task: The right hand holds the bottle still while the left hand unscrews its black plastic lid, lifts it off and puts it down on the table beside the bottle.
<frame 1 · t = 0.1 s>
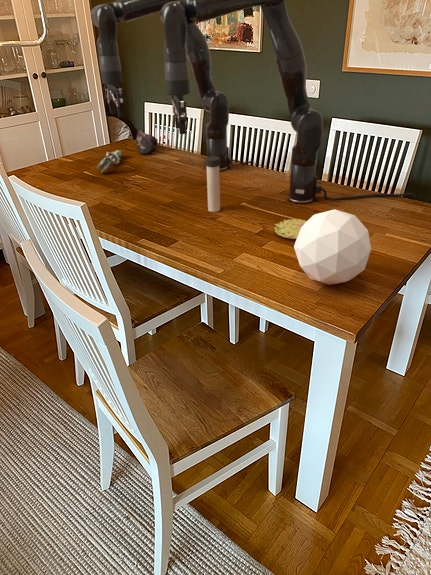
left hand: (117, 115, 171), 29 cm above the table, tool pointing down, fingers open, 8 cm apart
right hand: (180, 130, 147), 29 cm above the table, tool pointing down, fingers open, 8 cm apart
lid: (212, 159, 155), point 19 cm above the table, screwed on, not yet turned
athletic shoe: (149, 150, 236), on the table
decorative object: (301, 233, 146), on the table
sphere: (328, 278, 122), on the table
bottle: (214, 209, 165), on the table
figurine: (111, 165, 215), on the table
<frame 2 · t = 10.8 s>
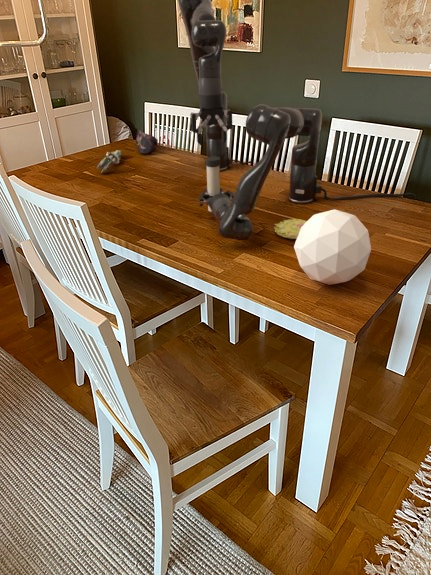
left hand: (212, 143, 152), 24 cm above the table, tool pointing down, fingers open, 7 cm apart
right hand: (212, 191, 164), 6 cm above the table, tool horizontal, fingers closed on bottle, 4 cm apart
bottle: (214, 209, 165), on the table, touching right hand
everything else where it was.
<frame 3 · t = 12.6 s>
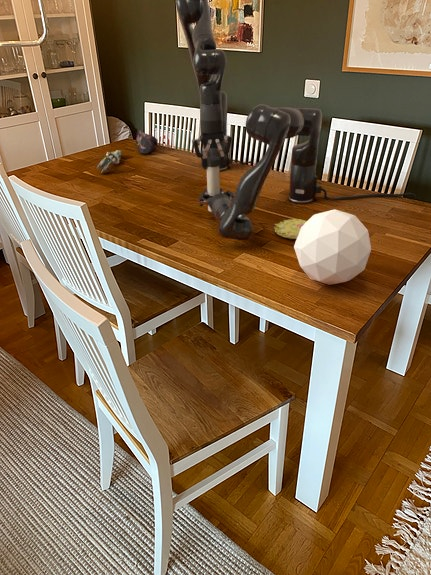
left hand: (212, 167, 156), 16 cm above the table, tool pointing down, fingers closed on lid, 5 cm apart
right hand: (212, 191, 164), 6 cm above the table, tool horizontal, fingers closed on bottle, 4 cm apart
lid: (212, 159, 155), point 19 cm above the table, screwed on, not yet turned, touching left hand
bottle: (214, 209, 165), on the table, touching right hand
everything else where it was.
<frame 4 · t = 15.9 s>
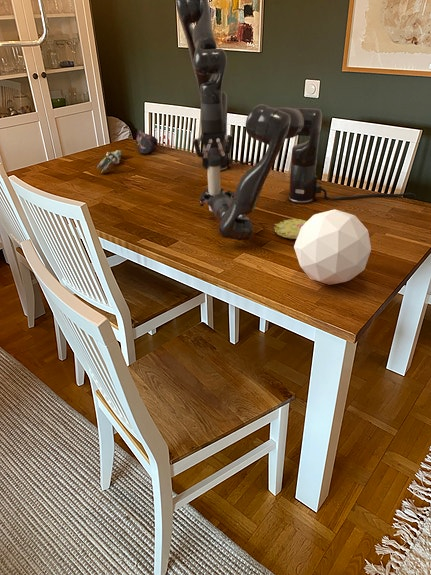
left hand: (213, 166, 156), 16 cm above the table, tool pointing down, fingers closed on lid, 5 cm apart
right hand: (213, 191, 164), 6 cm above the table, tool horizontal, fingers closed on bottle, 4 cm apart
lid: (213, 158, 155), point 19 cm above the table, turned 74° so far, risen 0.1 cm, still on its thread, touching left hand
bottle: (215, 209, 165), on the table, touching right hand
everything else where it was.
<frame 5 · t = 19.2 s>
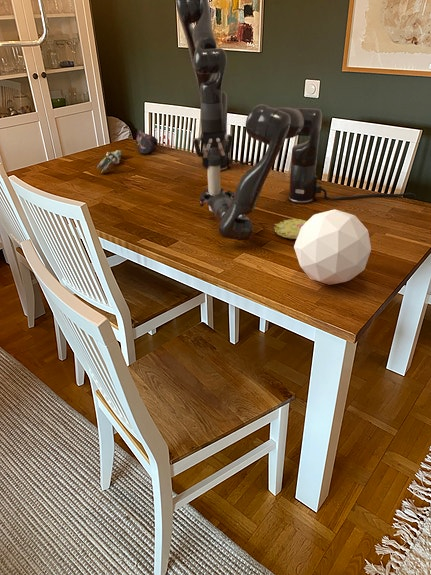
left hand: (213, 166, 156), 16 cm above the table, tool pointing down, fingers closed on lid, 5 cm apart
right hand: (213, 191, 164), 6 cm above the table, tool horizontal, fingers closed on bottle, 4 cm apart
lid: (213, 158, 155), point 19 cm above the table, turned 148° so far, risen 0.3 cm, still on its thread, touching left hand
bottle: (215, 209, 165), on the table, touching right hand
everything else where it was.
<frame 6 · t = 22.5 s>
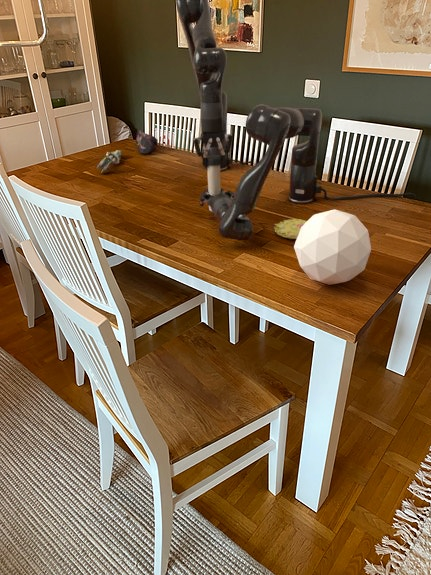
left hand: (213, 166, 156), 16 cm above the table, tool pointing down, fingers closed on lid, 5 cm apart
right hand: (213, 191, 164), 6 cm above the table, tool horizontal, fingers closed on bottle, 4 cm apart
lid: (213, 158, 155), point 19 cm above the table, turned 222° so far, risen 0.4 cm, still on its thread, touching left hand
bottle: (215, 209, 165), on the table, touching right hand
everything else where it was.
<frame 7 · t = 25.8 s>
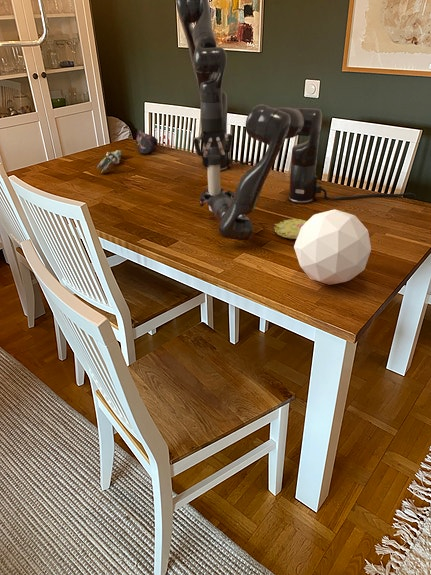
left hand: (213, 165, 156), 17 cm above the table, tool pointing down, fingers closed on lid, 5 cm apart
right hand: (213, 191, 164), 6 cm above the table, tool horizontal, fingers closed on bottle, 4 cm apart
lid: (213, 157, 155), point 19 cm above the table, turned 296° so far, risen 0.5 cm, still on its thread, touching left hand
bottle: (215, 209, 165), on the table, touching right hand
everything else where it was.
when the left hand's fingers open (0 cm above the table, at t = 32.3 s): lid drops 1 cm, point 2 cm above the table.
when the right hand's fingers open (6 cm above the table, at t = 33.4 s): bottle stays where it is, on the table.
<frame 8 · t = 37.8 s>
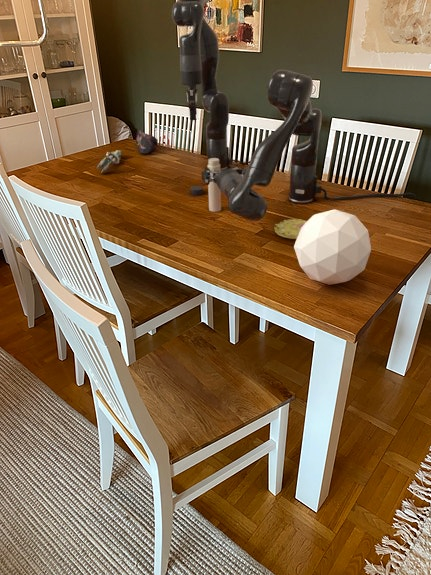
left hand: (193, 117, 164), 29 cm above the table, tool pointing down, fingers open, 8 cm apart
right hand: (219, 169, 146), 19 cm above the table, tool horizontal, fingers open, 8 cm apart
lid: (196, 188, 179), point 2 cm above the table, off its thread
bottle: (215, 209, 165), on the table
everything else where it was.
at the end: lid came off its thread; lid point 1.9 cm above the table; the left hand is holding nothing; the right hand is holding nothing; bottle tilted 0°; bottle moved 0.4 cm from its start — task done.
